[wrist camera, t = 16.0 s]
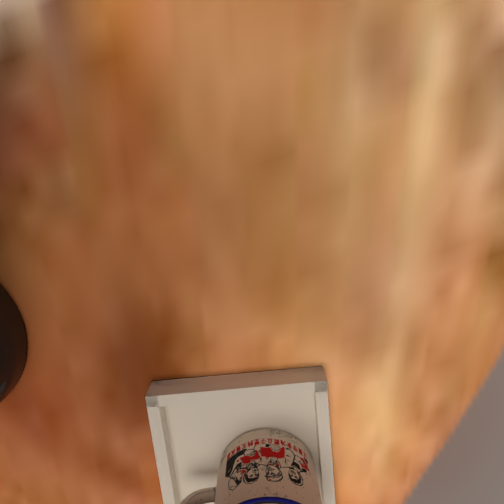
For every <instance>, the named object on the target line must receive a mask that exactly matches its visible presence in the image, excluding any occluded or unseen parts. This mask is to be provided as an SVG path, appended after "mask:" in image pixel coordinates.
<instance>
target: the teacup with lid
mask: <svg viewBox="0 0 504 504" xmlns="http://www.w3.org/2000/svg"><path fill="white" fill-rule="evenodd" d="M211 502H215V503H214V504H322V501H321V496H320V490H319V485H318V480H317V474H316V469H315V464H314V460H313V458H312V455H311V453H310V452H309V450H308V449H307V447H306V446H305V445H304V444H303V443H302V442H301V441H300V440H298V439H297V438H296V437H294V436H292V435H290V434H288V433H286V432H283V431H279V430H273V429H261V430H255V431H251V432H248V433H245V434H243V435H241V436H240V437H238V438H237V439H235V440H234V441H233V442H232V443H231V444H230V445H229V446H228V447H227V448H226V450H225V451H224V453H223V455H222V457H221V459H220V463H219V468H218V476H217V485H216V487H209V488H203V489H200V490H197V491H194V492H193V493H191V494H189V495H188V496H187V497H186V498H185V499H184V500H183V501H182V502H181V503H180V504H205V503H211Z"/></svg>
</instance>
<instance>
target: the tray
mask: <svg viewBox="0 0 504 504" xmlns="http://www.w3.org/2000/svg"><path fill="white" fill-rule="evenodd" d="M145 400H146V406H147V411H148V417H149V423H150V428H151V434H152V440H153V446H154V451H155V457H156V463H157V469H158V474H159V480H160V486H161V491H162V497H163V503H164V504H180V503H181V502H182V501H183V500H184V499H185V498H186V497H187V496H188V495H189V494H191V493H193V492H194V491H197V490H200V489H203V488H209V487H216V485H217V476H218V468H219V463H220V459H221V457H222V455H223V453H224V451H225V450H226V448H227V447H228V446H229V445H230V444H231V443H232V442H233V441H234V440H235V439H237V438H238V437H240V436H241V435H243V434H245V433H248V432H251V431H255V430H261V429H273V430H279V431H283V432H286V433H288V434H290V435H292V436H294V437H296V438H297V439H298V440H300V441H301V442H302V443H303V444H304V445H305V446H306V447H307V449H308V450H309V452H310V453H311V455H312V458H313V460H314V464H315V469H316V474H317V480H318V485H319V490H320V496H321V501H322V504H335V490H334V476H333V462H332V448H331V434H330V420H329V405H328V391H327V380H326V377H325V373H324V370H323V367H322V366H317V367H306V368H295V369H284V370H273V371H262V372H250V373H239V374H228V375H217V376H206V377H195V378H184V379H173V380H161V381H152V382H151V384H150V387H149V389H148V391H147V393H146V396H145ZM214 503H215V502H211V503H205V504H214Z"/></svg>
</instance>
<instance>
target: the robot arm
mask: <svg viewBox="0 0 504 504" xmlns="http://www.w3.org/2000/svg"><path fill="white" fill-rule="evenodd" d="M26 355H27V339H26V332H25V328H24V324H23V321H22V318H21V316H20V313H19V311H18V309H17V307H16V305H15V304H14V302H13V301H12V299H11V298H10V296H9V295H8V293H7V292H6V291H5V290H4V289H3V288H2V287H1V285H0V402H1V401H2V400H3V399H4V398H5V397H6V396H7V395H8V394H9V393H10V392H11V390H12V389H13V388H14V387H15V385H16V384H17V382H18V380H19V378H20V377H21V374H22V372H23V369H24V366H25V362H26Z"/></svg>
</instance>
